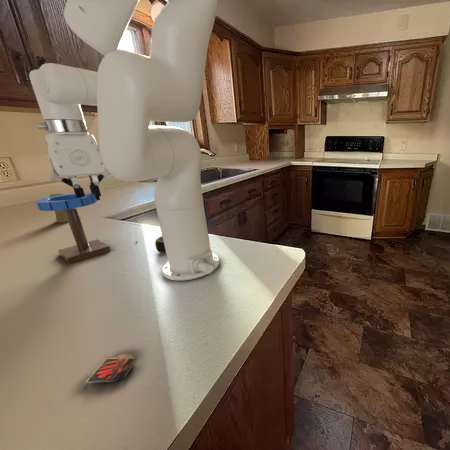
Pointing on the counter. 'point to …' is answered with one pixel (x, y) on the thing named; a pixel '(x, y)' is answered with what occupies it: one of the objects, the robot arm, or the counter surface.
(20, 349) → the counter surface
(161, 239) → the tape measure
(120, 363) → the matchbox
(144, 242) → the counter surface
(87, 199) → the tape roll
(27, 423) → the counter surface
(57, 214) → the cork
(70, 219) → the stand
